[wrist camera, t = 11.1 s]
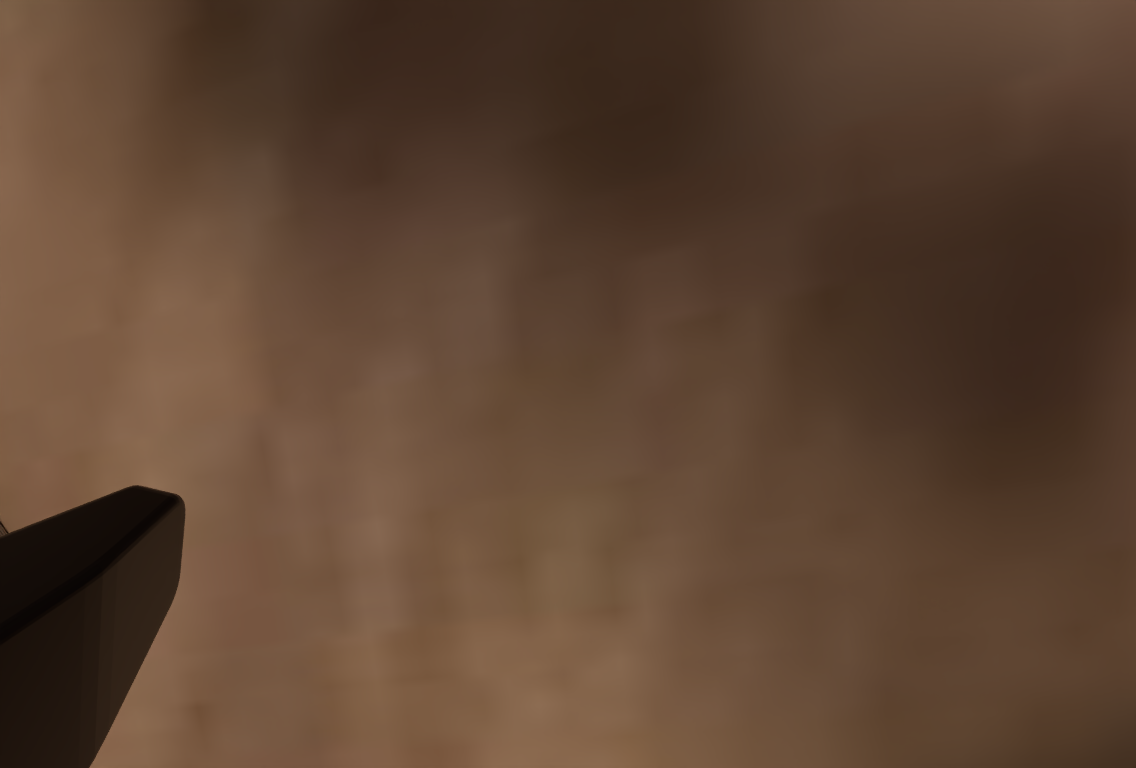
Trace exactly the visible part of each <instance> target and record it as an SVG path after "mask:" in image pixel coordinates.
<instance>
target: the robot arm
mask: <svg viewBox="0 0 1136 768" xmlns="http://www.w3.org/2000/svg"><path fill="white" fill-rule="evenodd" d="M184 524H185V504H184V501H183V499H182V498H181V497H180V496H179V495H177V494H174V493H169V492H165V491H161V490H157V489H153V488H148V487H144V486H139V485H135V486H131V487H127V488H124V489H122V490H119V491H116V492H114V493H111V494H109V495H106V496H104V497H101V498H98V499H96V500H93V501H91V502H88V503H86V504H83V505H80V506H78V507H75V508H73V509H70V510H67V511H65V512H62V513H60V514H57V515H55V516H52V517H49V518H47V519H44V520H42V521H39V522H37V523H34V524H31V525H29V526H26V527H24V528H21V529H18V530H16V531H13V532H11V533H8V534H6V535H3V536H0V768H89V767H90V766H91V764H92V762H93V761H94V759H95V757H96V755H97V753H98V751H99V749H100V747H101V746H102V744H103V742H104V740H105V738H106V736H107V734H108V732H109V730H110V728H111V726H112V724H113V722H114V720H115V718H116V716H117V714H118V712H119V710H120V708H121V706H122V704H123V702H124V700H125V698H126V695H127V693H128V691H129V689H130V687H131V685H132V683H133V681H134V679H135V677H136V675H137V673H138V671H139V669H140V667H141V665H142V663H143V661H144V659H145V657H146V655H147V653H148V651H149V649H150V647H151V645H152V643H153V641H154V639H155V637H156V635H157V633H158V631H159V629H160V626H161V624H162V622H163V620H164V618H165V616H166V614H167V612H168V610H169V608H170V606H171V604H172V602H173V599H174V597H175V594H176V591H177V587H178V583H179V578H180V570H181V559H182V547H183V536H184Z"/></svg>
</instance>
